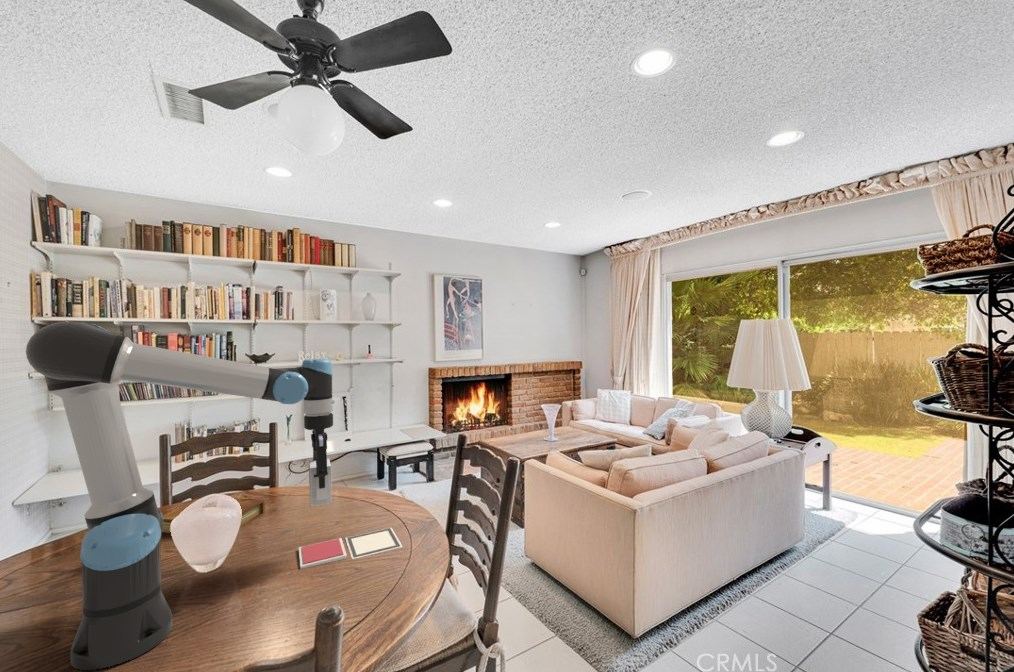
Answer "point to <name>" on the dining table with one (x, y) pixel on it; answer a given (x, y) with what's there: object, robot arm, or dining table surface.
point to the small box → (313, 484)
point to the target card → (372, 543)
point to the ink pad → (322, 553)
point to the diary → (249, 508)
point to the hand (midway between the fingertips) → (320, 493)
